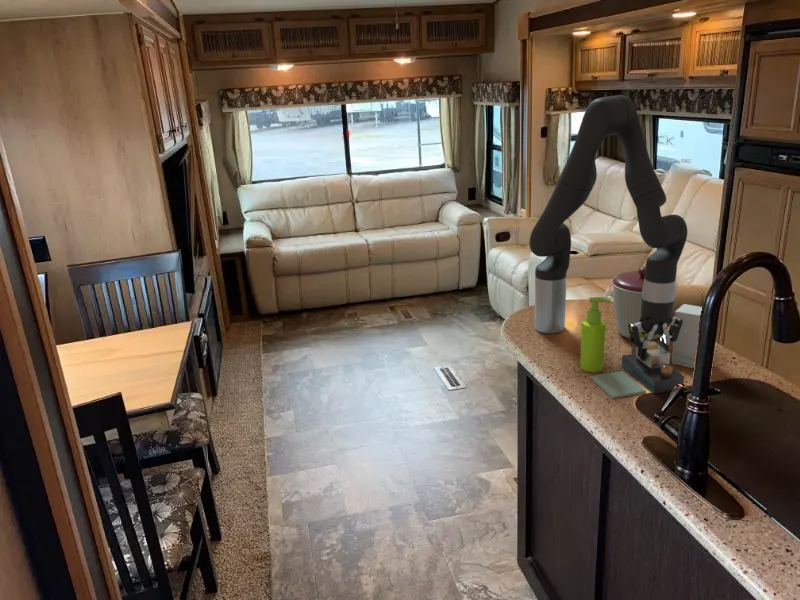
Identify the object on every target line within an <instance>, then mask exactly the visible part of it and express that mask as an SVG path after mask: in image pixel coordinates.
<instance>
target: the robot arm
mask: <svg viewBox="0 0 800 600" xmlns="http://www.w3.org/2000/svg"><path fill="white" fill-rule="evenodd" d="M637 111H638V110H637V108H636V105H635V104H634V102H633V101H632V99H631V98H630V97H628V96H627V95H621V94H619V95H611V96H604V97H598V98H595V99H594V100H593V101H591V102H590V103H589V104H588V106H587V107H586V109H585V111H584V114H583V117H582V118H581V119H582V120H581V123H580V126H579V129H578V132H577V136H576V138H575V140H574V144H573V146H572V149H571V150H570V154H569V156H568V158H567V160H566V162H565V165H564V167H563V169H562V171H561V173H560V176H559V178H558V180H557V181H556V184H555V187H554V189H553V192H552V194H551V196H550V198H549V200H548V202H547V204H546V206H545V208H544V210H543V212H542V213H541V216H540V217H539V218H538V220H537V222H536V223H535V225H534V227H533V228H532V231H531V232H530V236H529V248H530V251H531V252H532V254H533V255H535V256H537V257H540V258H541V257H542V258H544V257H545V259H544V260H543V261H542V262H540V263H539V264H538V265H536V267H535V271H534V276H535V277H534V329H535V330H536V331H537V332H540V333H543V334H558V333H561V332H563V331H564V330H565V323H566V305H567V304H566V301H567V299H566V297H567V272H568V271H569V267H570V261H571V260H570V259H571V251H572V249H571V248H572V236H571V231H570V229H569V227H568V226H567V225H566V223H565V222H566V220H568V219H569V218H570V217H571V216H572V215H573V214H574V213H575V212H577V211H578V210H579V209H580V208H581V207H582V206H583V205H584V203H586V201H587V200H588V198H589V197H590V194H591V192H592V190H593V188H594V186H595V184H596V182H597V177H598V176H597V165H596V156H597V153H598V151H599V149H600V147H601V145H602V143H603V142H604V140H605V139H606V137H608V136H609V137H610V136H615V135H617V137H618V139H619V140H620V142H621V144H622V146H623V149H624V154H625V155H624V156H625V158H624V159H625V163H624V164H625V166H624V179H625V181H624V182H625V185H626V188H627V191H628V193H629V194H630V197H631V199H632V202H633V204H634V206H635V208H636V214H637V220H638V226H639V227H638V228H639V233H640V236H641V238H642V240H643V241H644V243H645V244H646V245H647V246H648V247H650V248H651V249H655V251H654V252H653V253H651V255H649V256H648V257H647V258H646V261H645V266H644V267H645V278H644V283H643V288H642V300H641V318H640V320H639V322H637V323H635V324H632V323H629V325H628V327H629V333H630V343H631V345H632V344H634V345H635V346H636V347H638V357H639V359H641V360H642V361H646V354H647V348H646V347H647V345H648V343H649V342H651V341H652V340H651V339H652V337H653V336H654V335H657V334H658V335H659V339H660V341H659V344H658V345H659V346H661V347H662V348H663V349H665V350H667V351H668V352H669V347H670V344H671V343H673V341H674V342H675V341H676V340H677V338H678V335H679V332H680V329H681V326H682V323H683V320H681V319H679V318H678V317H676V316H675V315H674V316H673V314H674V311H675V310H674V308H675V300H676V291H677V289H676V283H675V282H677V270H678V263H679V260H680V258H681V256H682V254H683V250H684V248H685V245H686V242H687V238H688V225H687V222H686V221H685V219H684V217H682V216H681V215H678V214H669V215H664V216H662V213H661V207H662V206H664V205H665V203H666V202H667V195H666V193H665V191H664V189H663V187H662V184H661V182H660V180H659V178H658V176H657V174H656V171H655V169H654V167H653V164H652V161H651V158H650V154H649V151H648V148H647V143H646V140H645V136H644V133H643V129H642V125H641V122H640V118H639V117H640V116H639V115H638V112H637ZM640 327H642V329H641V332H640ZM668 328H669V329H668ZM639 332H640V337H639ZM646 333H647V334H648V335H646Z"/></svg>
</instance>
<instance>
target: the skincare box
mask: <svg viewBox="0 0 800 600" xmlns="http://www.w3.org/2000/svg"><path fill="white" fill-rule="evenodd" d="M702 307H703V306H699V305H692V304H686V303H683V304H682V305H681V306H680V307H679V308H677V309H676V310H674V317H675V316H676V317H678V318H679V319H681V320H683V323H682V326H681V329H680V332H679V335H678V338H677V340H676V341H675V342H674V341H672V353H671V354H672V355H671V365H677V366H682V367H686V368H690V369H693V368H694V362H695V356H696V350H697V343H698V331H699V322H700V315H701V311H702Z"/></svg>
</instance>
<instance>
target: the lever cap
mask: <svg viewBox="0 0 800 600" xmlns="http://www.w3.org/2000/svg"><path fill="white" fill-rule="evenodd" d="M659 345H660V344H659V343H657V342H656V341H654V340H651V341H649V343H648V345H647V347H646V348H647V354H646V361H642V360H641V359H639V357H638V347H636V357H637V358H638V359H639V360H641V361H642V362H643V363H644V364H646V365H647V366H648V367H650V368H658V367H661V365H662V364H670V361H671V360H670V359H671V352H670V351H669V350H668V351H667V350H665V349H663V348H662V347H661V346H659Z"/></svg>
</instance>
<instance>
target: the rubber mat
mask: <svg viewBox="0 0 800 600" xmlns="http://www.w3.org/2000/svg"><path fill="white" fill-rule="evenodd" d="M590 379H591V380H592V381H593V382H594V383H595V384H596V385H597V386H598V387H599V388H600V389H602V391H604V392H605V393H606V394H607V395H608V396H609V397H610V398H611V399H617V398H622V397H623V398H624V397H631V396H635V395H640V394H641V395H642V394H646V393H647V390H646V389H644V388H643V387H642V386H641V385H640V384H638V383H637V381H635V379H632V378H631V377H630V376H629V375H628V374H626V373H625V372H624V371H623V370H621V371H615V372H613V371H612V372H608V373H602V374H595V375H590Z"/></svg>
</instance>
